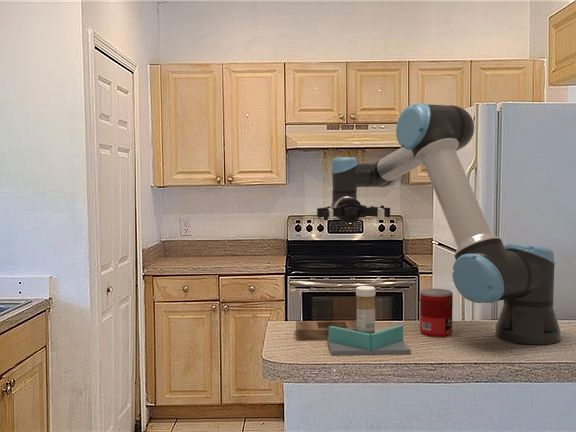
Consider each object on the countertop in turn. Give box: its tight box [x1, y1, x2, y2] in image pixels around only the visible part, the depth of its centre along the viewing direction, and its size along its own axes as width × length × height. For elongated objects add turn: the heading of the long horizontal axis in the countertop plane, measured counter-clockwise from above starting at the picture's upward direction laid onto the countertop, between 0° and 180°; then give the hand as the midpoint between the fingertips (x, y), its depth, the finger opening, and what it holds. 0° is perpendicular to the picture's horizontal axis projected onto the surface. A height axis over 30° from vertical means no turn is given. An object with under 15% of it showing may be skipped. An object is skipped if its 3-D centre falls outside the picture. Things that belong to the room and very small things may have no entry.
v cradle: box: [326, 324, 412, 356], centre depth 156 cm, size 18×12×4 cm, turn 91°
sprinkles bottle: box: [355, 285, 377, 334], centre depth 156 cm, size 5×5×14 cm
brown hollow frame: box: [295, 319, 357, 341], centre depth 168 cm, size 18×9×3 cm, turn 91°
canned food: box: [419, 288, 454, 338], centre depth 169 cm, size 8×8×11 cm
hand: (357, 214), depth 175 cm, fingers open, 13 cm apart
